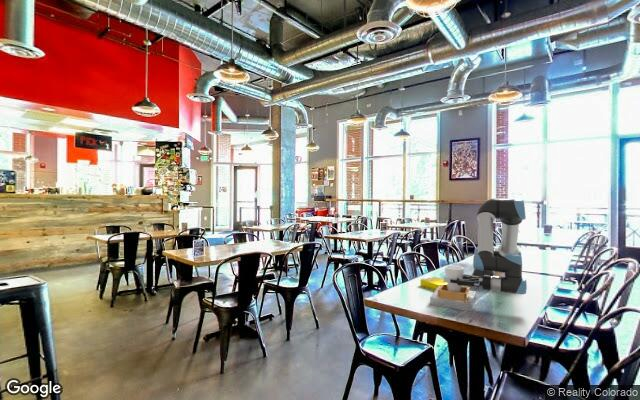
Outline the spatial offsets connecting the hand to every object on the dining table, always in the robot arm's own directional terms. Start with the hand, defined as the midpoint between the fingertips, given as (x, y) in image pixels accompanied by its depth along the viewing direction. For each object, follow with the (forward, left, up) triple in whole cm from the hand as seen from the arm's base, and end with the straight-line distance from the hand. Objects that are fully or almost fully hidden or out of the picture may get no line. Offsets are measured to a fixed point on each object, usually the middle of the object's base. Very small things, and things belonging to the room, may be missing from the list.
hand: (445, 277), depth 187 cm
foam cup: (0, +4, -7) cm, 8 cm away
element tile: (-25, -9, -13) cm, 30 cm away
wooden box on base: (0, +4, -12) cm, 13 cm away
